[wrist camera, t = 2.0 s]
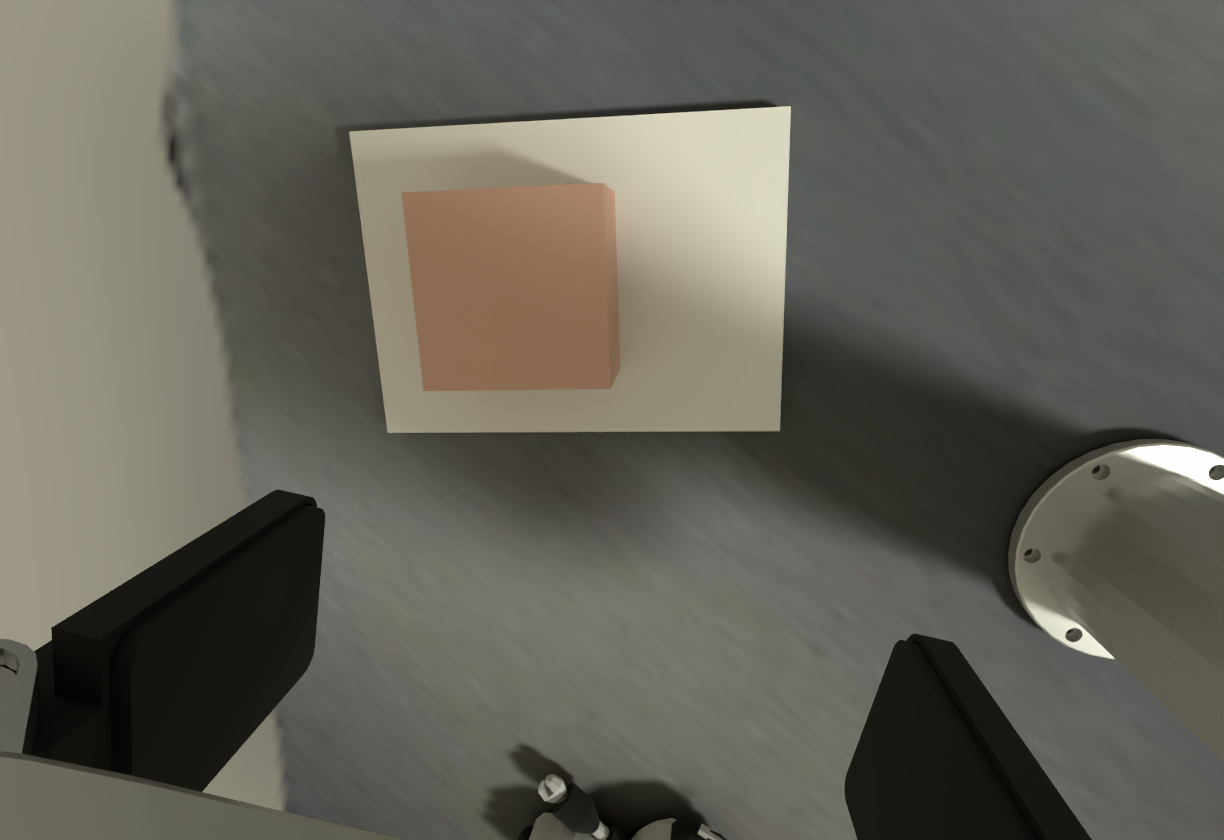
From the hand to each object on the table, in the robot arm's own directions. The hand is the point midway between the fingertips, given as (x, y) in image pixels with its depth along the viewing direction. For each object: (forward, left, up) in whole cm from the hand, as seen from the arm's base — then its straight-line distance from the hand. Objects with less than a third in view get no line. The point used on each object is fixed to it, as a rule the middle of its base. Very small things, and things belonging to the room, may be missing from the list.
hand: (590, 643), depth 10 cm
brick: (+6, -4, -25) cm, 26 cm away
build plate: (+4, -4, -26) cm, 27 cm away
